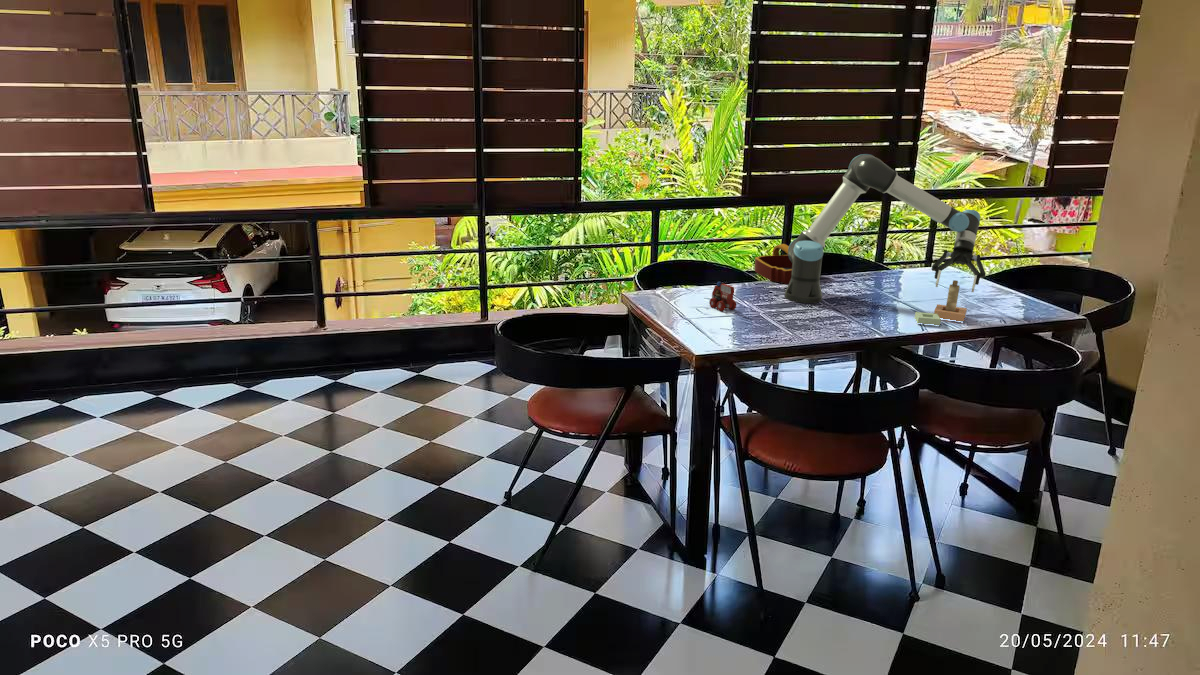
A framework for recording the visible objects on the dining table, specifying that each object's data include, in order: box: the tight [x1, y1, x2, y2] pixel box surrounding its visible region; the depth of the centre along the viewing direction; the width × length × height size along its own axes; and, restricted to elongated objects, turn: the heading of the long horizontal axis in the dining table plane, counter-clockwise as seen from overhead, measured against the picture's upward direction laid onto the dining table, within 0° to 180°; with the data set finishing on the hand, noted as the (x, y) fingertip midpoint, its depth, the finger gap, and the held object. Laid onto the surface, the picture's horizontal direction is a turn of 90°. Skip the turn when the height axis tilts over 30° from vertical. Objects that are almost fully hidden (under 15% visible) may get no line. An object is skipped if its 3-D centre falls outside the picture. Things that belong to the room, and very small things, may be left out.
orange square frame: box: [933, 304, 968, 322], centre depth 331 cm, size 11×11×4 cm
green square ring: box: [914, 311, 942, 325], centre depth 323 cm, size 8×8×3 cm
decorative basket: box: [754, 243, 793, 285], centre depth 389 cm, size 34×29×15 cm
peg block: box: [945, 279, 960, 312], centre depth 329 cm, size 4×4×15 cm
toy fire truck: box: [709, 281, 737, 312], centre depth 331 cm, size 7×12×10 cm, turn 27°
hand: (954, 287), depth 338 cm, fingers open, 13 cm apart
